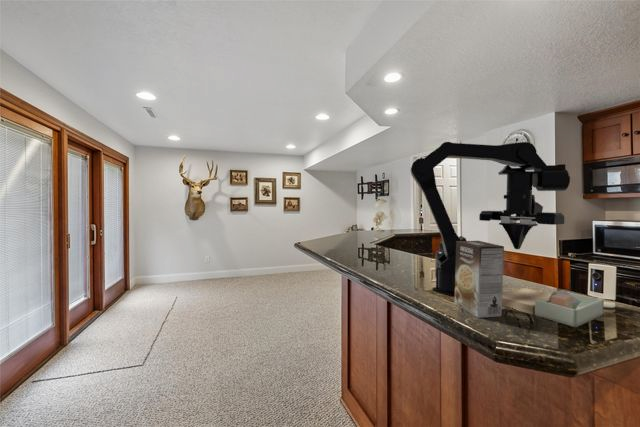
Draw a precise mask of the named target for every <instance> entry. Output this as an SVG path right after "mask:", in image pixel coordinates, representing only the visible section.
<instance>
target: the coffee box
mask: <svg viewBox="0 0 640 427" xmlns="http://www.w3.org/2000/svg"><path fill="white" fill-rule="evenodd" d="M504 251H505V246H504V245H501V244H500V245H499V244H496V243H495V244H494V243H490V242H486V241H481V240H466V241H456V268H455V295H454V302H453V303H454V305H455V306H456V307H459V308H461V309H462V310H464V311H466V312H467V313H469V314H471V315H472V316H474V317H475V318H478V319H479V318H494V317H495V318H496V317H502V310H503V308H502V307H503V306H502V293H503V287H504V286H503V282H504V279H503V278H504V257H505V255H504V254H505V252H504Z"/></svg>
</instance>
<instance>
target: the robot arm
mask: <svg viewBox="0 0 640 427" xmlns="http://www.w3.org/2000/svg"><path fill="white" fill-rule="evenodd" d="M448 158H451V159H467V160H477V161H479V160H480V161H492V162H496V163H498V164H501V165H505V166H504V167H503V168H502V169H501V170H500V171H499V172H497V173H498V175H500V176H504V175H505V176H506V194H503V199H504V200H505V205H506V206H505V209H503V210H481V212H480V213H479V215H478V216H479V218H478V219H479V221H481V222H482V221H485V222H487V221H488V222H490V221H500V222H499V223H498V225H500V226H502V227H503V229H504V230H505V232H506V235H508V238H509V240H510V242H511V244H512V246H513V248H514V249H515V250H520V249H521V247H522V245H523V242H524V241H525V239H526V238H527V234H528V233H529V232H530V230H531V229H532V228H533V227H538V225H551V226H552V225H553V226H554V225H555V226H556V225H564V224H565V215H564V214H563V213H562V212H545V211H544V212H543V210H544V206H543V205H541V204H540V203H539V202H537V201H536V200H535V198H536V197H535V194H533V188H535V189H536V190H537V191H538V192H561V191H562V192H564V191H567V189H568V188H569V186H570V183H571V176H570V174H569V171H568V169H566V167H567V166H566V164H562V163H561V164H554V165H553V164H552V165H551V164H549V165H547V164H546V162H544V160H543V159H542V158H541V157H540V155H539V154H538V153H537V148H536V146H534V145H533V143H531V142H528V141H523V142H522V141H519V142H510V143H505V144H499V145H498V144H496V145H495V144H478V143H475V144H474V143H461V142H458V143H457V142H451V141H445V142H443V143H441V144H440V146H439V147H437V148H436V149H435V150H433V151H431V152H430V153H429V154H428V155H426V156H425V157H424V158H422V157H421V158H417V159H415V160H414V162H412V164H411V167H410V175H411V177H412V179H413V180H414V182H415V183H416V185H417V186H418V187H419V188H420V190H421V191H422V193H423V195H424V198H425V200H426V202H427V204H428V207H429V209H430V212H431V214H432V217H433V219H434V222H435V224H436V227H437V229H438V230H439V234H440V236H441V242H442V244H443V249H444V254H443V255H442V256H441V257H439V258H438V259H437V263H438V266H439V267H440V268H436V277H435V286H434V287H432V288H431V289H432V291H434V292H438V293H441V294H444V295H447V296H448V295H449V296H455V268H456V241H467V238H466V237H464V236H463V235H460V236H459V235H458V234H457V233H456V231H455V228H454V226H453V223H452V221H451V219H450V217H449V214H448V211H447V210H446V207H445V205H444V202H443V200H442V198H441V195H440V192H439V189H438V188H437V182H436V175H435V171H434V169H435V167H437V166H438V165H439V164H441V163H443V161H445V160H446V159H448ZM517 221H519V222H517Z"/></svg>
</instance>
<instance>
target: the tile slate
mask: <svg viewBox="0 0 640 427" xmlns="http://www.w3.org/2000/svg"><path fill="white" fill-rule="evenodd" d="M568 292H569V291H567V290H565V289H561V290H555V291H553V292H552V295H551V296H550V298H549V299H548V300H550V301H551V302H552V296H554V295H556V294H564V295H569V296H572V295H571V294H569V293H568ZM580 302H581V301H580V300H578V299H577V298H575V297H574V296H573V299H572V309H576V308H577V306H578V305H579V304H580Z"/></svg>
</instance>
